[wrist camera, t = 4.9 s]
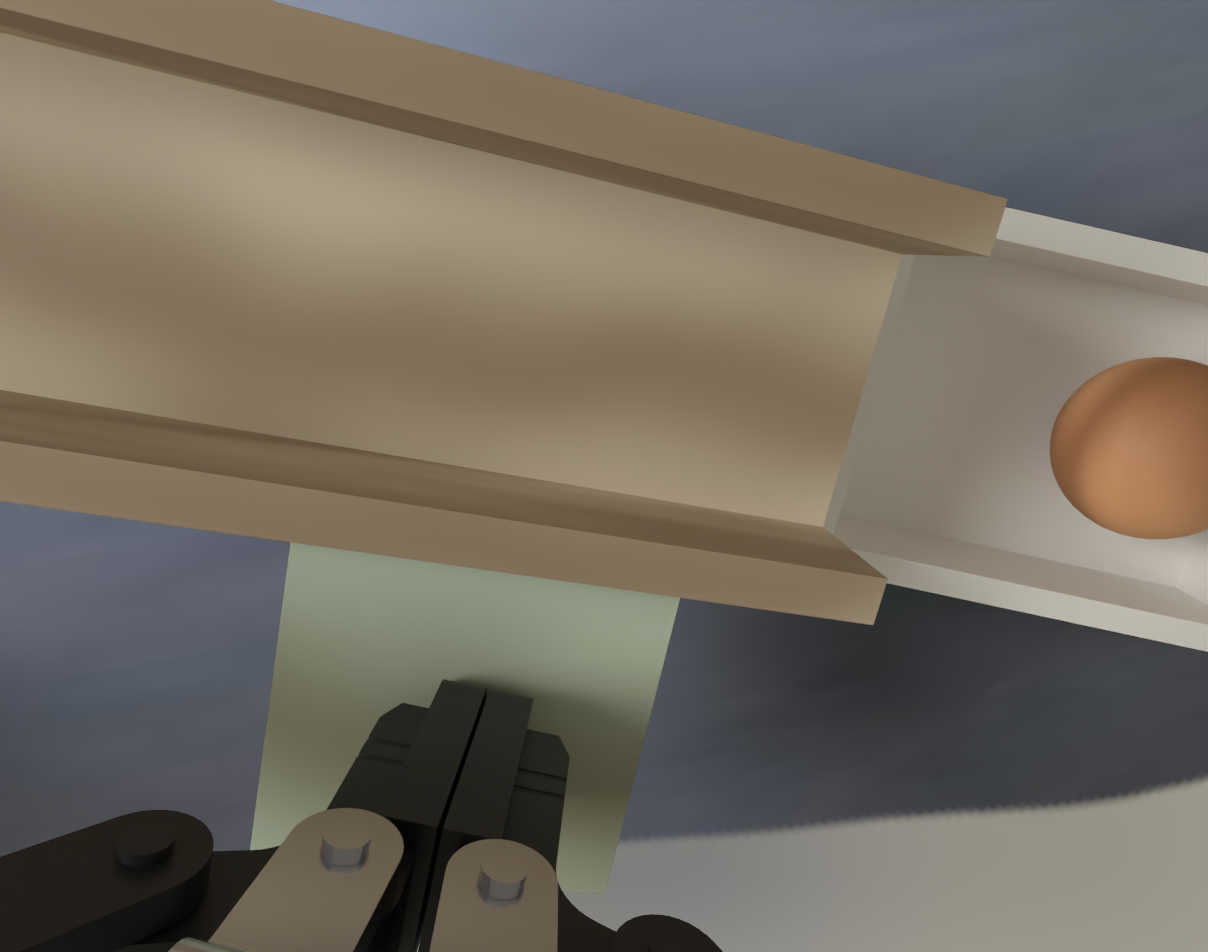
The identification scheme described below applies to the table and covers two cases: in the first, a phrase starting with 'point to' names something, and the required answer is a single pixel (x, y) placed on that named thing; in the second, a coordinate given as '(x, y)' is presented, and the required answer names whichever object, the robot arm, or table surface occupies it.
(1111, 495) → the ball
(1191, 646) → the bin
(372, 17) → the table surface
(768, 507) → the tilting chute
